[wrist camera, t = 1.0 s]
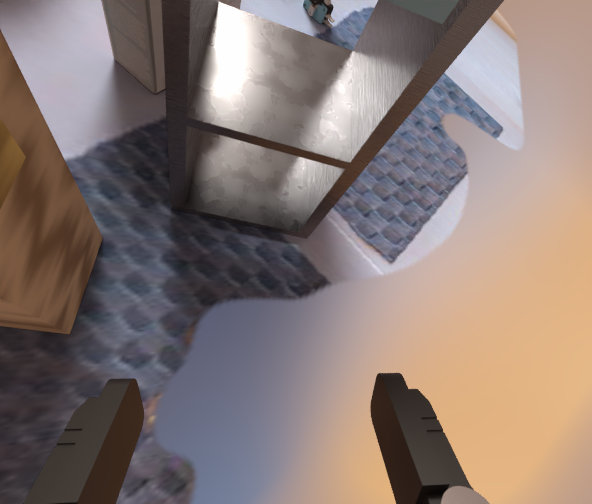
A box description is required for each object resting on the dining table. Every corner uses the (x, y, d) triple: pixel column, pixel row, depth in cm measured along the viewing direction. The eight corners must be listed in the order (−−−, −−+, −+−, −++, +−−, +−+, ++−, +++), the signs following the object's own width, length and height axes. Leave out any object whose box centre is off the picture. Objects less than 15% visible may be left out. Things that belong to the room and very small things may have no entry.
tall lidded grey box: (306, 238, 43) (573, -84, 14) (170, 209, 39) (146, -328, 10) (313, 150, 49) (514, -212, 20) (195, 116, 45) (225, -401, 16)
